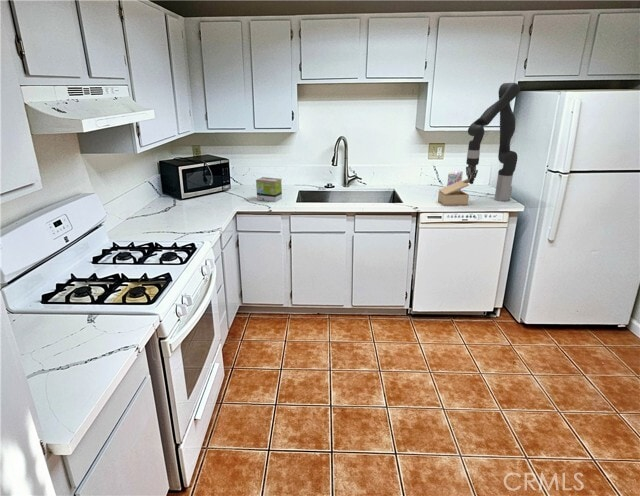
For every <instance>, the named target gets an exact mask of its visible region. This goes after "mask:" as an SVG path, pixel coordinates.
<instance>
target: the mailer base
mask: <svg viewBox="0 0 640 496" xmlns="http://www.w3.org/2000/svg"><path fill="white" fill-rule="evenodd" d="M469 198H470V194H468V193H467V192H465V191H463V190H461V191H455V192H452V193H450V194H447V195H444V194H443V193H442V192H440V191H439V190H438V195H437V202H438V203H439V204H441V206H443V207H454V206H455V207H457V206H458V207H459V205H462V206H468V205H469Z"/></svg>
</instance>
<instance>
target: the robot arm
mask: <svg viewBox="0 0 640 496" xmlns="http://www.w3.org/2000/svg"><path fill="white" fill-rule="evenodd" d="M520 89H521V87H520V85H519V83H517V82H504V83H502V84H501V85H500V86H499V88H498V100H496V102H494V103H492V105H490V106H489V107H487V108H486V109H485V111H484V112H483V113H482V114H481V115H480V117H479V118H477V119H476V120H475V121H473V122H472V123H471V124H470V125H469V127H468V128H467V134H468V135H469V136H472V137H473V138H472V139H471V140H469V142H468V148H467V154H466V162H465V163H466V165H468V166H465V172H466V173H465V174H466V176H467V179H469V178H470V183H469V185H474V181H475V180H474V179H476V178H477V175H478V172H479V170H478V169H477V166H478V165H479V163H480V155H481V154H480V153H481V151H480V150H481V143H482V141H483V138H484V135H485V128H484V127H487V126H488V125H489V124H491V122H492V121H493V120H494V119H495V117H496V116H497V115H498V114H499V147H498V153H497V154H498V156H497V157H498V162H499V163H500V164H503V165H502V168H501V169H499V170H498V173H497V177H496V178H497V180H496V186H495V191H494V198H493V199H494V200H496V201H499V202H508V201H511V196H512V191H513V186H512V183H513V178H514V172H515V171H516V167H517V161H518V154H517V152H515V151H514V150H511V140H512V138H513V136H514V134H515V132H516V116H515V114H514V112H513V110H512V107H511V102H512V101H513V100H514V99H515V98H516V97H517V96H518V95H519V93H520Z"/></svg>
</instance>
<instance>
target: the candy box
mask: <svg viewBox="0 0 640 496" xmlns="http://www.w3.org/2000/svg"><path fill="white" fill-rule="evenodd" d="M463 173H464V171H461V170H454V171H452V172H449V173H448V175H447V185H446V187H447V186H449V185H451V184H454V183H456V182H458V181H461V180H462V181H463ZM457 191H462V189H459V190H457Z"/></svg>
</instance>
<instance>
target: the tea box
mask: <svg viewBox="0 0 640 496" xmlns="http://www.w3.org/2000/svg"><path fill="white" fill-rule="evenodd" d="M255 185H256V200H257V201H265V202H272V203H277V202H278V201H280V200H282V199H283V195H282V194H283V193H282V192H283V190H282V189H283V188H282V178H278V177H277V178H275V177H268V176H267V177H265V176H262V177H260V178H258V179H255Z"/></svg>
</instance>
